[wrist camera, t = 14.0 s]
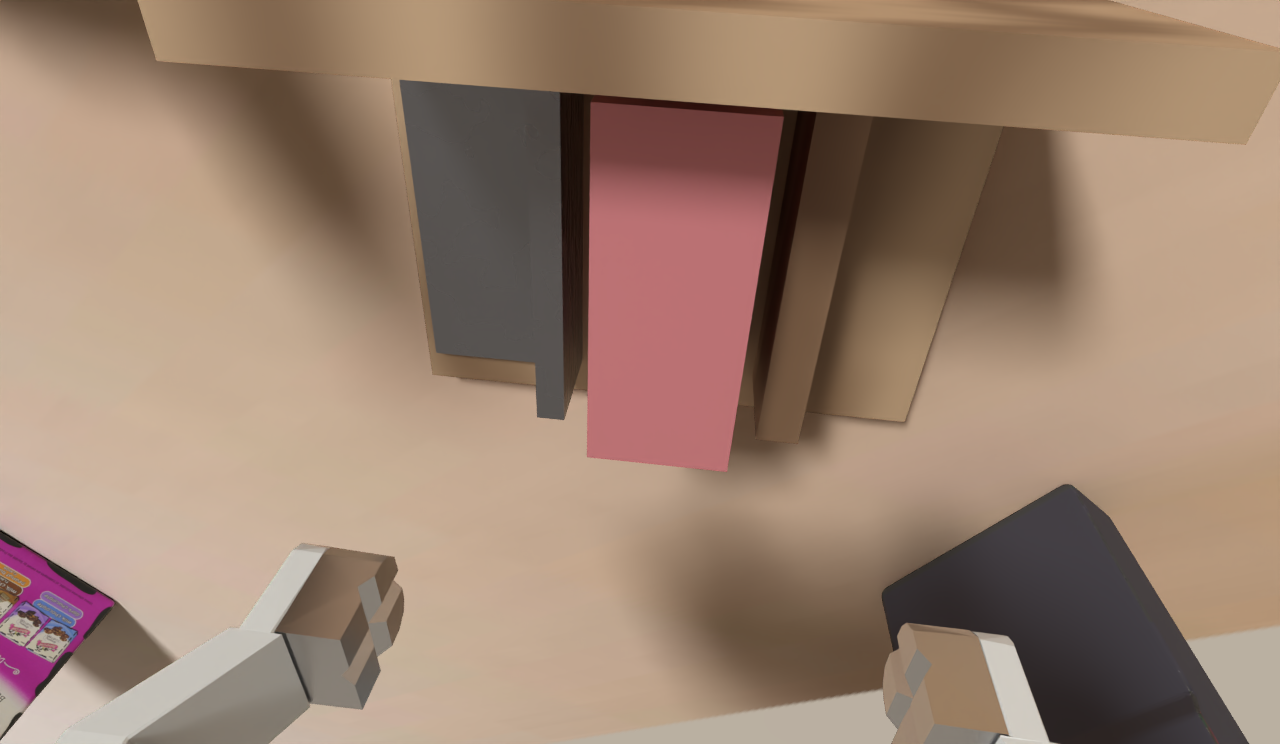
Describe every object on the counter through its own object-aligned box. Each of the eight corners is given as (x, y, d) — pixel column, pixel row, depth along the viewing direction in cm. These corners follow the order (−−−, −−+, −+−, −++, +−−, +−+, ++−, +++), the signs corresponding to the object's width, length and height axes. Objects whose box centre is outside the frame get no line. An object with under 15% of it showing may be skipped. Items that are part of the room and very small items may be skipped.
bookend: (583, 9, 22) (558, 30, 18) (582, 360, 29) (564, 420, 26) (394, -4, 22) (336, 14, 19) (440, 346, 29) (404, 403, 26)
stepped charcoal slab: (924, 622, 38) (1019, 968, 26) (870, 585, 37) (943, 929, 25) (1116, 519, 33) (1350, 894, 21) (1061, 472, 32) (1274, 840, 19)
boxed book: (768, 58, 22) (784, 117, 16) (726, 353, 28) (726, 471, 22) (625, 47, 22) (590, 101, 16) (615, 342, 28) (587, 457, 23)
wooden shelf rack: (1032, -22, 21) (1294, 52, 12) (897, 400, 30) (979, 644, 21) (390, -64, 22) (128, -29, 13) (444, 355, 32) (315, 567, 22)
